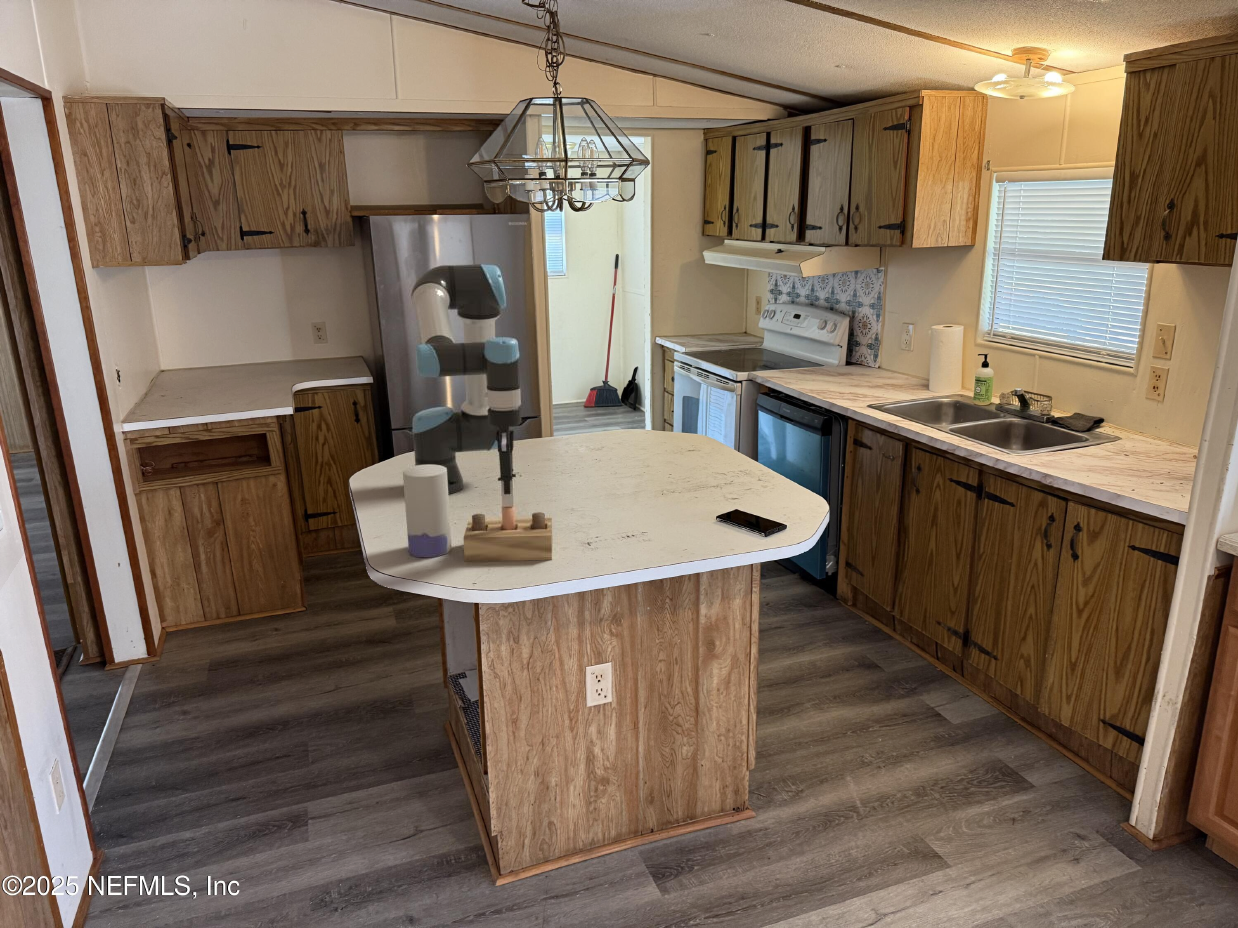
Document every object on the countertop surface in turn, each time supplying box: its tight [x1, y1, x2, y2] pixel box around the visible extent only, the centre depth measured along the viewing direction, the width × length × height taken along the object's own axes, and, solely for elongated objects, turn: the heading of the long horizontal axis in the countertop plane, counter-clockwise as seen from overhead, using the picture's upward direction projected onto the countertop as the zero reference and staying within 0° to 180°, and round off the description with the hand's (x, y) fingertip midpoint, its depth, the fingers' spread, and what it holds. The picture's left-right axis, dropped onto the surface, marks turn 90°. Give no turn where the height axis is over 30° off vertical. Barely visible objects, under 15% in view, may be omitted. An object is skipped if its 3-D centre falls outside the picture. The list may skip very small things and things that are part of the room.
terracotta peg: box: [501, 505, 516, 530], centre depth 203 cm, size 3×3×8 cm
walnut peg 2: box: [531, 511, 546, 530], centre depth 204 cm, size 3×3×8 cm
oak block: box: [462, 517, 553, 563], centre depth 204 cm, size 12×20×6 cm, turn 94°
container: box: [402, 465, 453, 558], centre depth 203 cm, size 10×10×20 cm
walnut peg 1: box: [471, 513, 486, 531], centre depth 203 cm, size 3×3×8 cm
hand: (508, 505), depth 201 cm, fingers closed
